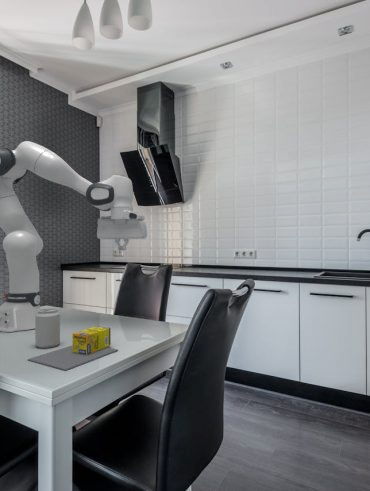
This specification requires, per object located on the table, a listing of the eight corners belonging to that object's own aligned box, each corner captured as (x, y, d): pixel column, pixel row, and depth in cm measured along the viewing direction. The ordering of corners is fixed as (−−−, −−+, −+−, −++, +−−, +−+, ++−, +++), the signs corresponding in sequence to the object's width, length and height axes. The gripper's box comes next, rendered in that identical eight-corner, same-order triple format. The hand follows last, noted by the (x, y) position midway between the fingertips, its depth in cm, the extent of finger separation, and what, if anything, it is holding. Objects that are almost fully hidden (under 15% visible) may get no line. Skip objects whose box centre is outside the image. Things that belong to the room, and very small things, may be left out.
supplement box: (110, 327, 109) (87, 335, 99) (111, 345, 109) (87, 355, 99) (96, 325, 111) (71, 333, 102) (96, 343, 111) (72, 353, 102)
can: (46, 341, 115) (46, 306, 115) (64, 343, 113) (64, 307, 113) (30, 348, 108) (30, 310, 108) (49, 350, 106) (49, 311, 106)
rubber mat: (82, 343, 113) (82, 342, 113) (118, 350, 105) (118, 349, 105) (27, 360, 96) (27, 359, 96) (65, 371, 88) (65, 369, 88)
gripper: (94, 215, 133) (94, 250, 133) (143, 214, 129) (143, 250, 129) (101, 217, 140) (101, 250, 139) (148, 216, 136) (148, 250, 135)
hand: (121, 250), depth 134 cm, fingers closed
